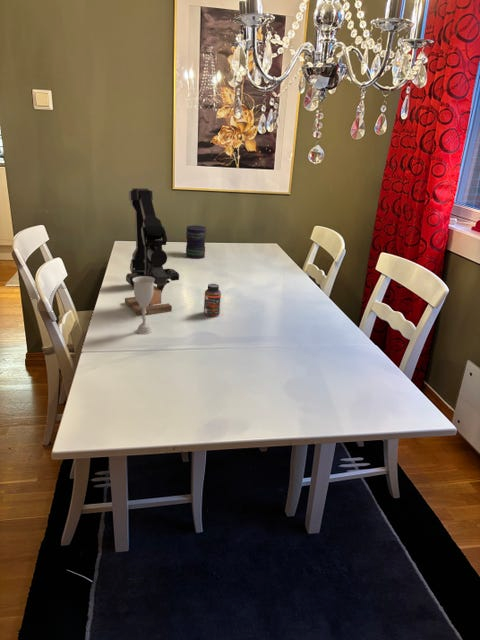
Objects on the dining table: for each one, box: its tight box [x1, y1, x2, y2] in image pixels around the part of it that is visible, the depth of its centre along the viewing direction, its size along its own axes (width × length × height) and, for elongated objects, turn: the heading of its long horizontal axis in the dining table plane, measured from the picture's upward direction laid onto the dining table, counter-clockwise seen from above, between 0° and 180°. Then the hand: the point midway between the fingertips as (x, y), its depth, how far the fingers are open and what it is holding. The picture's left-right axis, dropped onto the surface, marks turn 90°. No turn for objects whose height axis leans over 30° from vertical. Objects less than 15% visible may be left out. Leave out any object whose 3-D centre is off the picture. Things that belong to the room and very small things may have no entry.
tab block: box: [149, 285, 162, 306], centre depth 182 cm, size 6×4×5 cm, turn 31°
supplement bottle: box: [203, 283, 222, 318], centre depth 178 cm, size 6×6×11 cm
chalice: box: [132, 276, 155, 335], centre depth 159 cm, size 7×7×18 cm
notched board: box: [124, 296, 173, 317], centre depth 182 cm, size 14×13×2 cm
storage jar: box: [185, 224, 207, 260], centre depth 249 cm, size 10×10×15 cm
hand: (153, 298), depth 182 cm, fingers closed on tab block, 4 cm apart
